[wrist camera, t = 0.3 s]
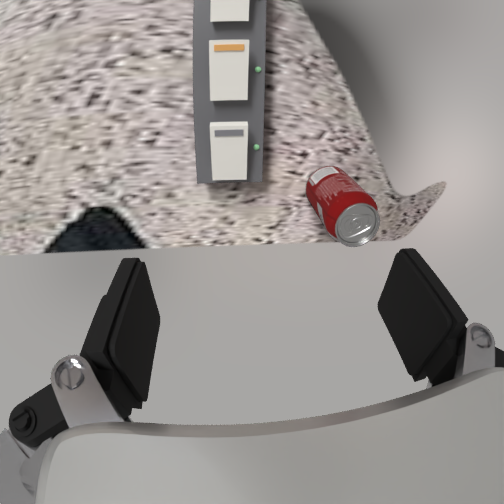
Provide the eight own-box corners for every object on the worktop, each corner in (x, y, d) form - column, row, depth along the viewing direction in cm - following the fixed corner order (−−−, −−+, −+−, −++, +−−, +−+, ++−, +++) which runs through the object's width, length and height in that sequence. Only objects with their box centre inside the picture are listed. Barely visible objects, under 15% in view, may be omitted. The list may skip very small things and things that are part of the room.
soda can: (300, 170, 38) (326, 207, 28) (344, 160, 37) (383, 192, 27) (308, 211, 42) (333, 258, 32) (349, 200, 41) (384, 243, 31)
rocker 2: (209, 40, 22) (208, 41, 21) (248, 39, 23) (249, 40, 22) (210, 97, 28) (210, 101, 27) (246, 97, 28) (247, 100, 27)
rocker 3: (210, 122, 28) (209, 126, 27) (247, 121, 28) (248, 126, 27) (213, 175, 33) (212, 181, 32) (246, 174, 33) (246, 180, 32)
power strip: (200, -52, 18) (197, -66, 14) (263, -53, 18) (267, -66, 14) (200, 173, 37) (196, 185, 33) (258, 171, 38) (262, 183, 34)
